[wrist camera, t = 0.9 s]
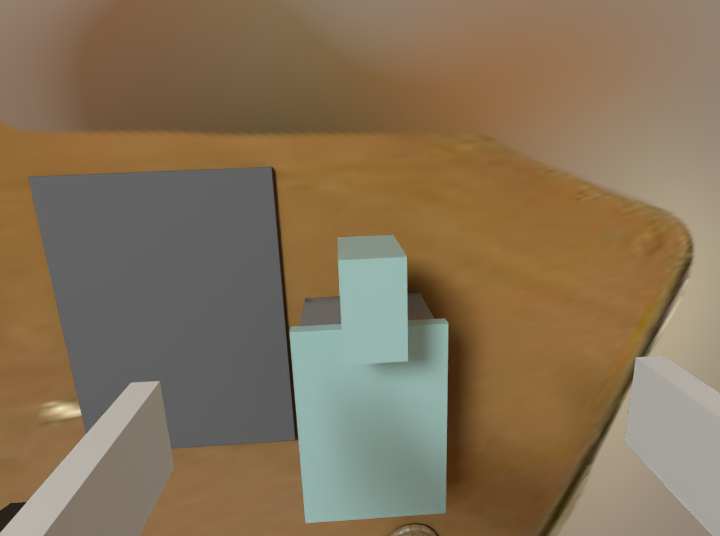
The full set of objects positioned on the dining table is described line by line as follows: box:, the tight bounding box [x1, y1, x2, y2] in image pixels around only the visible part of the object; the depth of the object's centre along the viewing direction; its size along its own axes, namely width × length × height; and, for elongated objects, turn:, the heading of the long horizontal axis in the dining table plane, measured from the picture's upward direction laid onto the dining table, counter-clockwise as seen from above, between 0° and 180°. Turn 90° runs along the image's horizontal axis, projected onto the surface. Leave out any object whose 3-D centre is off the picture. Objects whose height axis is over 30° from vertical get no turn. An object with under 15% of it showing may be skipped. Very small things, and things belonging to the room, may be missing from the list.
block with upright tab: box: [289, 235, 448, 523], centre depth 25 cm, size 9×18×6 cm, turn 2°
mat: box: [28, 167, 296, 448], centre depth 31 cm, size 15×20×1 cm
